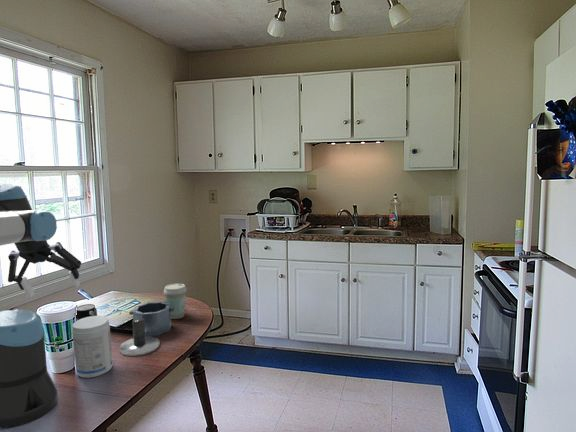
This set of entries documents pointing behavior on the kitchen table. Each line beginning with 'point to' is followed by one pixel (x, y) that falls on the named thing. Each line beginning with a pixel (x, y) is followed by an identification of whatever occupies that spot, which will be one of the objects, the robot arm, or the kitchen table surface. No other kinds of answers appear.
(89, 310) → the beverage can
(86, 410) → the kitchen table surface
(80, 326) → the supplement tub
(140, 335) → the lid
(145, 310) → the pot
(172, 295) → the coffee cup
